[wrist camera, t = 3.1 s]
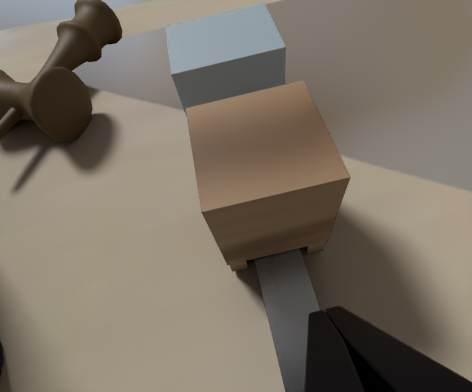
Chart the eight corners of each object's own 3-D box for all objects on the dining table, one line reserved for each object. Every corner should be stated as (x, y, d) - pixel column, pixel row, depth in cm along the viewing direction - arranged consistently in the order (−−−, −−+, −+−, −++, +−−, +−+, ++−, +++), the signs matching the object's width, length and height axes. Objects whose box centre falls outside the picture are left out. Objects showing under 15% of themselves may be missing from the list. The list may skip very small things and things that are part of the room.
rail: (359, 447, 14) (367, 454, 13) (301, 460, 14) (303, 469, 13) (254, 119, 25) (253, 106, 24) (222, 127, 25) (219, 114, 24)
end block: (284, 112, 25) (285, 46, 20) (193, 134, 26) (171, 74, 20) (267, 69, 29) (264, 3, 23) (185, 88, 29) (165, 26, 23)
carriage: (324, 249, 19) (350, 176, 12) (230, 271, 19) (201, 212, 12) (295, 173, 22) (303, 80, 15) (215, 192, 22) (185, 108, 15)
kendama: (150, 45, 34) (49, 187, 25) (82, 42, 37) (-33, 170, 27) (127, -14, 29) (-12, 137, 20) (50, -12, 32) (-105, 122, 22)
